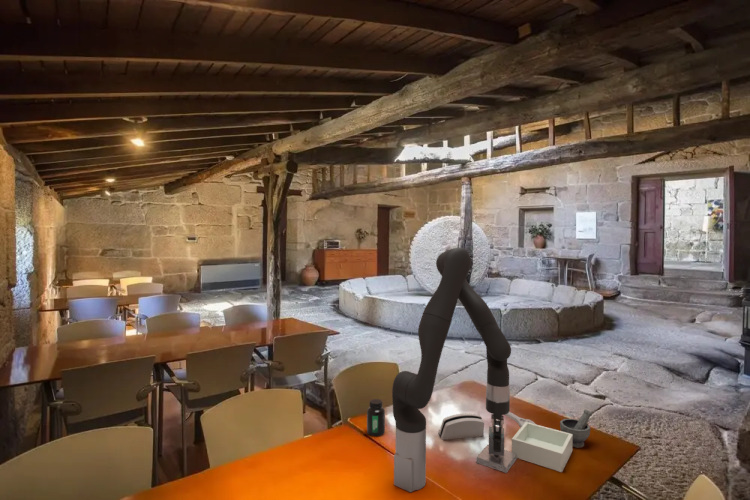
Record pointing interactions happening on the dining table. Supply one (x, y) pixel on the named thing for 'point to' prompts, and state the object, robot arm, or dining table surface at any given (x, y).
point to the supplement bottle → (375, 418)
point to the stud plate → (496, 460)
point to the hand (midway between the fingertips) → (497, 447)
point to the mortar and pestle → (577, 428)
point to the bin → (543, 446)
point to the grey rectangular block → (491, 443)
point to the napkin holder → (461, 426)
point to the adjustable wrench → (518, 419)
